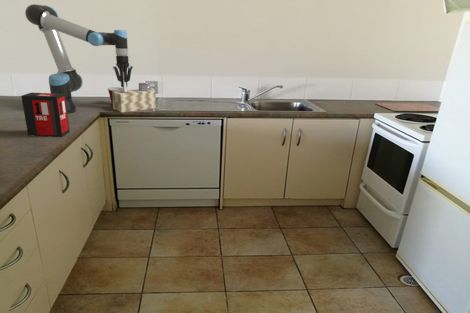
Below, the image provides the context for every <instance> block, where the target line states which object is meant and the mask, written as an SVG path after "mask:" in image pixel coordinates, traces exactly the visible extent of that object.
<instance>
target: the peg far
mask: <svg viewBox="0 0 470 313" xmlns="http://www.w3.org/2000/svg"><path fill="white" fill-rule="evenodd" d="M148 86H149V85H148V83H146V82H138V89H139V91H148V89H149V88H148Z"/></svg>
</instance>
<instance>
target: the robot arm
mask: <svg viewBox="0 0 470 313" xmlns="http://www.w3.org/2000/svg"><path fill="white" fill-rule="evenodd" d="M24 12H25V13H24V14H25V17H26V20H27V21H28V22H29V23H31V24H32V25H35V26H37V28H38V30H39V31H40V32H42V33H43V35H44V37H45V40H46V43H47V45H48V48H49V50H50V53H51V55H52V58H53V60H54V63H55V65H56V68H57V72H56V73H52V74H50V75H49V76H48V84H49V91H50V93H54V94H65V99H66V107H67V114H71V113H75V112H77V107H76V105H75V102H74V101H73V96H72V93H73V92H76V91H78V90H80V89H81V88H82V86H83V78H82V77H81V75H80V74H78V73H77V69H76V68H74V67H73V66H72V63H71V61H70V59H69V56H68V53H67V51H66V48H65V45H64V43H63V40H62V38H61V35H60V33H62V34H66V35H68V36H70V37H73V38H76V39H78V40H82V41H84V42H87V43H88V44H90V46H91V45H92V46H94V47H101V46H115V47H114V48H115V55H116V56H115V60H116V63H115V66H112V69H113V70H114V73H115V75H116V79H117V82H120V88H122V89H123V92H127V90H128V89H127V87H128V82H131V75H132V69H133V68H134V67H133V66H132V65H131V64H130V63H129V56H128V55H129V50H128V49H129V48H128V35H127V31H126V30H125V29H124V30H123V29H114V31H113V32H103V31H102V32H101V31H99V32H98V31H95V30H93V29H89V28H87V27H86V26H85V27H84V26H81V25H80V24H76V23H74V22H71V21H69V20H67V19H64V18H61V17H59V14H58V12H57V11H56V10H55V9H54V8H53V7H52V6H48V5H42V4H35V3H34V4H29V5H28V6H27V7H26V8H25V11H24Z"/></svg>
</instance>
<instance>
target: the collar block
mask: <svg viewBox="0 0 470 313" xmlns="http://www.w3.org/2000/svg"><path fill="white" fill-rule="evenodd" d="M121 92H123V91H113V92H112V98H113V105H112V108H113V110H114V111H117V112H119V113H128V112H137V111H144V110H151V109H153V110H154V109H156V108H157V103H156V101H157V100H156V91H155V90H152V89H149V88H148V91H139V88H138V89H127V92H129V93H121Z"/></svg>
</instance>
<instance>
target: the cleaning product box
mask: <svg viewBox="0 0 470 313" xmlns="http://www.w3.org/2000/svg"><path fill="white" fill-rule="evenodd" d="M20 97H21V102H22V108H23V109H22V110H23V113H24V119H25V125H26V131H27V136H28V135H34V136H33V137H48V136H52V137H53V138H57V137H58V138H63V137H65V136H66V135H68V134H70V133H71V131H70V130H71V129H70V123H69V117H68V116H69V115H68V114H69V113H67V107H66V99H65V94H54V93H51V92H50V93H49V92H28V93H26V94H22V95H21V96H20Z"/></svg>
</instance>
